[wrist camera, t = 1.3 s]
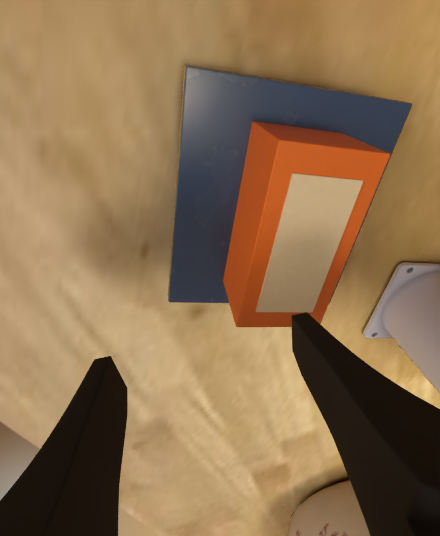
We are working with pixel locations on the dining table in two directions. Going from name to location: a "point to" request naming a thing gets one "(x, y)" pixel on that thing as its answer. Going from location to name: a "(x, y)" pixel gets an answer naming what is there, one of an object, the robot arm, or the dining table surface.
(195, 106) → the biscuit tin
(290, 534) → the chamber pot
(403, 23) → the dining table surface
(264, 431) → the dining table surface
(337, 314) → the dining table surface
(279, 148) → the snack box
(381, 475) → the robot arm
